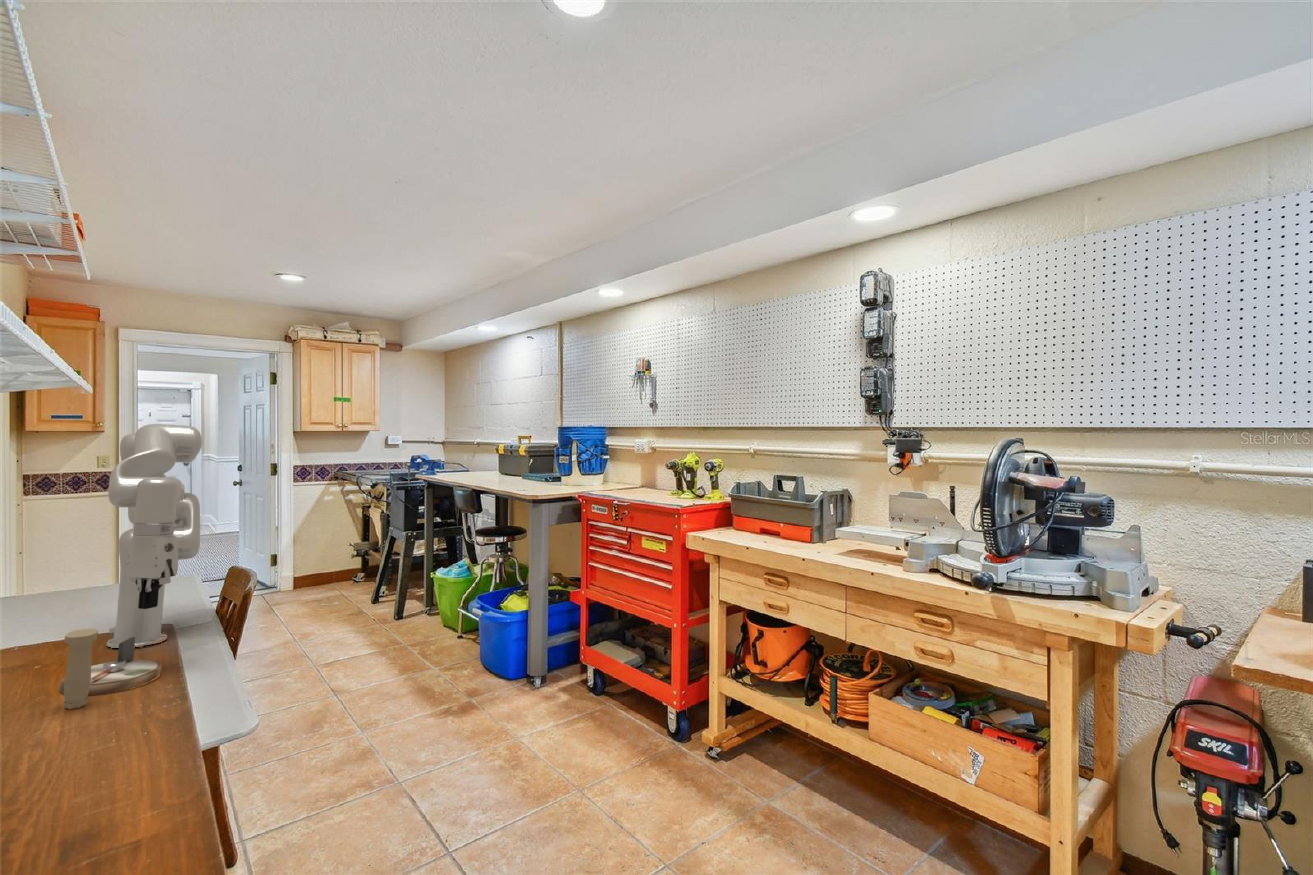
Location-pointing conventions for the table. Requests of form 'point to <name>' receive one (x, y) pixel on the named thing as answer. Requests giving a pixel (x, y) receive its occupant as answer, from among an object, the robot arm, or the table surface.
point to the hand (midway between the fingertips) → (147, 607)
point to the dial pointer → (119, 658)
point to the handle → (78, 667)
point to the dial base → (121, 677)
